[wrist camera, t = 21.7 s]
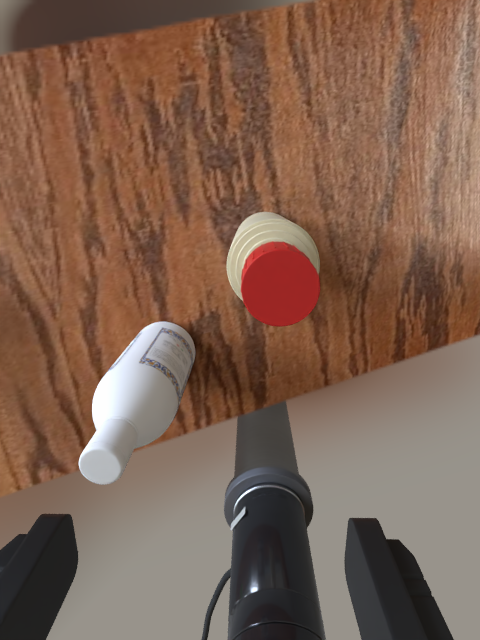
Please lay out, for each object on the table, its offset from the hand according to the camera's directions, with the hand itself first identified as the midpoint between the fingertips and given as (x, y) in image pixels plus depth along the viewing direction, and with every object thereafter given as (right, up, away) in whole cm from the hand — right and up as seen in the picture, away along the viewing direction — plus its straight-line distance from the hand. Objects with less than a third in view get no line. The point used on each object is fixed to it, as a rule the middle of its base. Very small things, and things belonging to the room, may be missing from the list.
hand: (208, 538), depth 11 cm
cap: (+3, +9, +12) cm, 16 cm away
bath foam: (-8, +3, +33) cm, 34 cm away
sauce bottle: (+4, +14, +29) cm, 32 cm away
